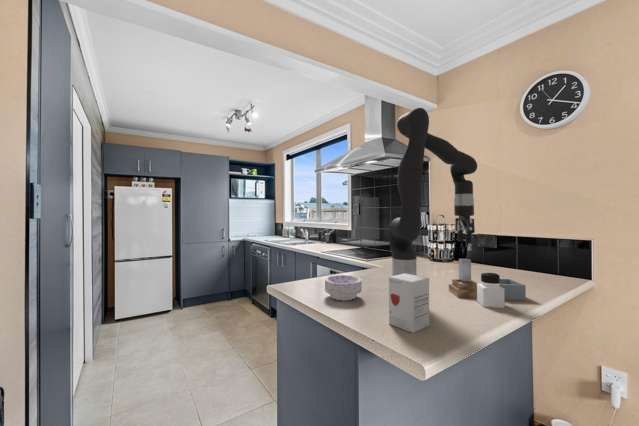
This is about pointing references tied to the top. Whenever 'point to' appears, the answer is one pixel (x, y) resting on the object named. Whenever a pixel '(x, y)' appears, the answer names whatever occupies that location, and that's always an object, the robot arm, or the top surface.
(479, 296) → the medicine bottle
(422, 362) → the top surface
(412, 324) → the supplement box
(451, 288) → the socket block
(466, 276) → the strut
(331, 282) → the pale lilac bowl
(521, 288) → the bin
